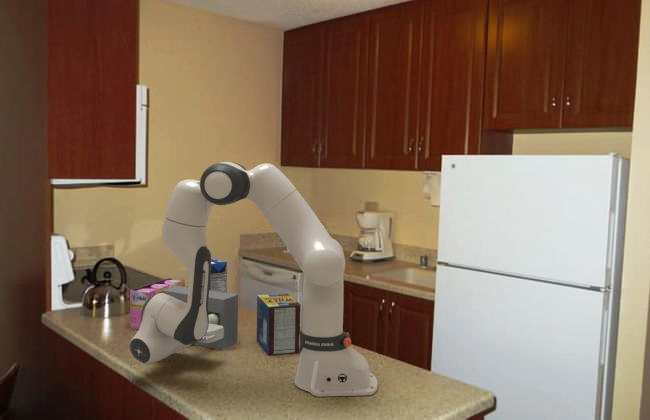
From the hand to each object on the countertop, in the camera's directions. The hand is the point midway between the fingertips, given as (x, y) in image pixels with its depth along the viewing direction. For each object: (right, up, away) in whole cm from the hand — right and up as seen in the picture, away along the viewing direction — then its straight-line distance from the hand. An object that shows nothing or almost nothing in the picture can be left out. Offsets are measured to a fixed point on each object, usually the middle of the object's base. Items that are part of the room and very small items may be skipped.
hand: (206, 323), depth 174 cm
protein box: (+21, -9, +7) cm, 24 cm away
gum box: (-24, -6, +32) cm, 40 cm away
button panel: (-5, -8, +11) cm, 14 cm away
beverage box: (-6, -6, +36) cm, 37 cm away
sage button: (+1, -2, +3) cm, 4 cm away
